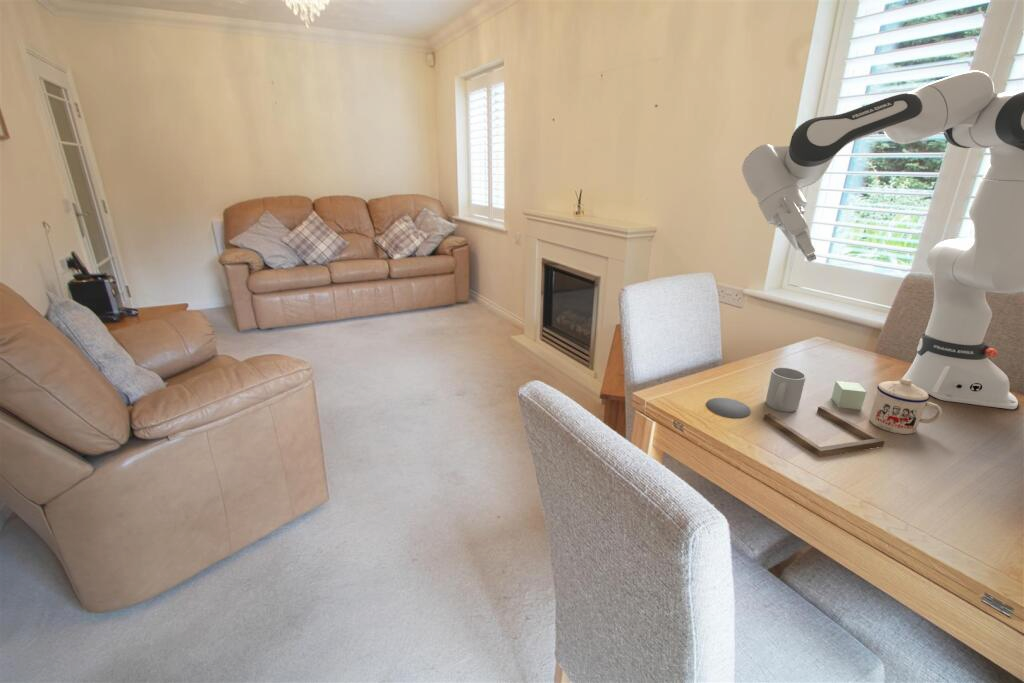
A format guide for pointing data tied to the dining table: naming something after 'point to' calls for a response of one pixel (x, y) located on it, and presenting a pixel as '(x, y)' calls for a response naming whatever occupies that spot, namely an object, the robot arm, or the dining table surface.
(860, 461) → the dining table surface
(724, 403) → the slate coaster
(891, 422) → the teacup with lid
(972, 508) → the dining table surface
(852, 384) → the sage box
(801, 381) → the cup
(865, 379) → the dining table surface
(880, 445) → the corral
